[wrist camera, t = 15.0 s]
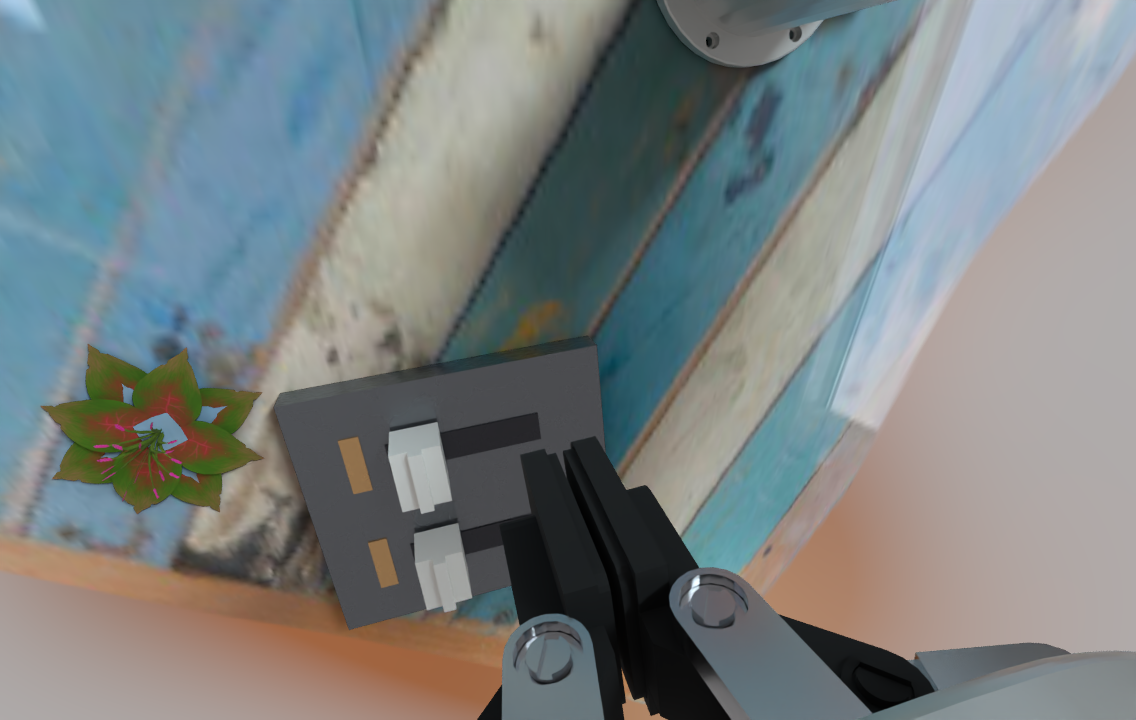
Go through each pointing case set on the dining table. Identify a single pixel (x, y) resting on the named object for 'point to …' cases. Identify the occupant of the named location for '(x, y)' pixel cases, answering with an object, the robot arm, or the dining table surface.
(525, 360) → the breaker panel
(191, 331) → the dining table surface
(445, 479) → the breaker
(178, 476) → the lily flower
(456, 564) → the block
